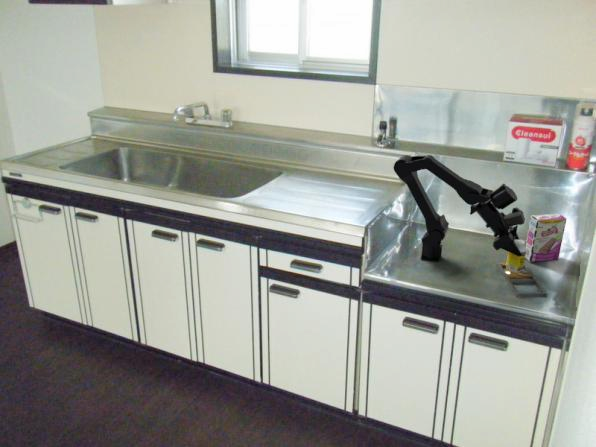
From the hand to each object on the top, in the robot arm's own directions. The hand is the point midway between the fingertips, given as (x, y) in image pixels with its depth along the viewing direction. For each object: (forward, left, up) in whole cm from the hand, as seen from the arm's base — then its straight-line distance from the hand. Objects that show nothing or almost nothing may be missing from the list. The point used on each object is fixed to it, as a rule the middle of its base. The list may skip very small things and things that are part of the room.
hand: (521, 252), depth 194 cm
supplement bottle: (-1, 0, -7) cm, 7 cm away
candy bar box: (+8, +13, -8) cm, 18 cm away
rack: (0, -6, -8) cm, 10 cm away
